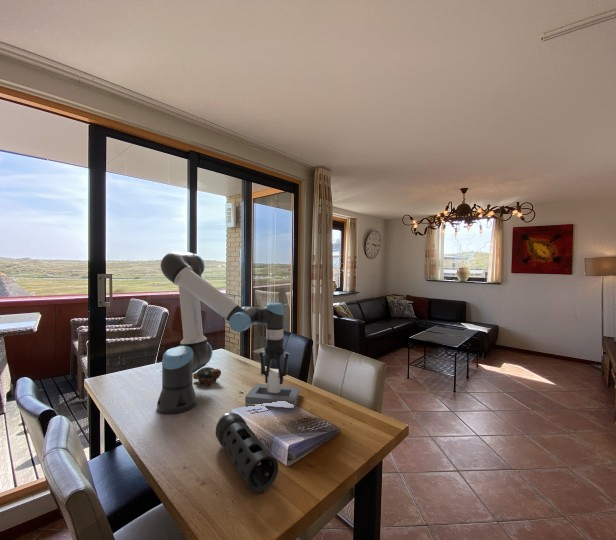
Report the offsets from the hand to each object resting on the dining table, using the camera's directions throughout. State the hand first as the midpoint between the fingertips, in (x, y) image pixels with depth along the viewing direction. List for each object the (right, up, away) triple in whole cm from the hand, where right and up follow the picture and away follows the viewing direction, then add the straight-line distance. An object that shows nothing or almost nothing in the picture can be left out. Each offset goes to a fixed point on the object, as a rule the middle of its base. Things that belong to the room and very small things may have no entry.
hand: (274, 390), depth 132 cm
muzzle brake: (-5, -5, -43) cm, 43 cm away
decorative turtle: (-35, -3, +16) cm, 39 cm away
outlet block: (0, -4, 0) cm, 4 cm away
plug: (0, 0, 0) cm, 0 cm away
